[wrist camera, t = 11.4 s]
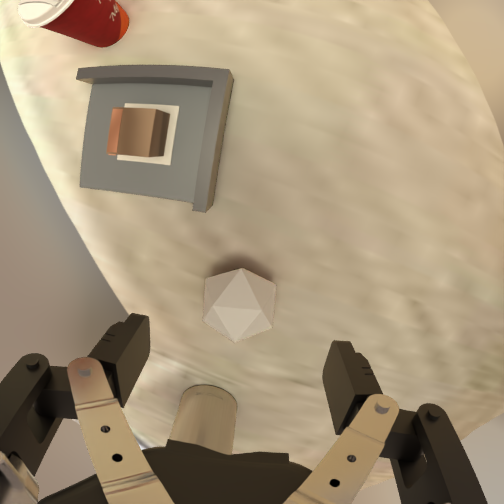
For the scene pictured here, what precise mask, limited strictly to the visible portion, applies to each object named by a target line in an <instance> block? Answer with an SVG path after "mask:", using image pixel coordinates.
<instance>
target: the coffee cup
mask: <svg viewBox="0 0 504 504" xmlns="http://www.w3.org/2000/svg"><path fill="white" fill-rule="evenodd" d="M18 5H19V6H18V14H19V16H20V18H21V19H22V20H23V22H24V24H25V25H26V26H28V27H31V28H37V27H42V28H45V29H48V30H51V31H54V32H57V33H60V34H63V35H66V36H69V37H71V38H74V39H77V40H80V41H83V42H85V43H88V44H91V45H94V46H97V47H107V46H110V45H113V44H114V43H116V42H117V41H119V40H120V39H121V38H122V37H123V35H124V34H125V32H126V31H127V28H128V25H129V18H128V15H127V14H126V12H125V11H124V10H123V9H122V8H121V6H120V5H119V4H118V3H117V2H116V1H115V0H20V1H19V4H18Z"/></svg>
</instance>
